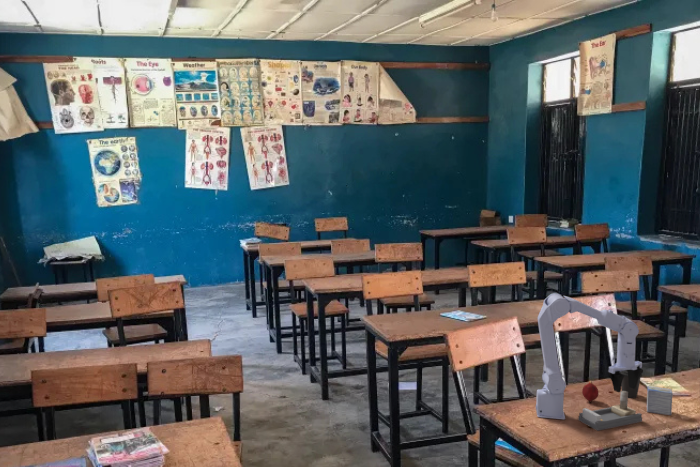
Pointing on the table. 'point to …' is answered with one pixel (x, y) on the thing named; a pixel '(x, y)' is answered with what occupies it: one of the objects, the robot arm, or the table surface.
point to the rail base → (607, 418)
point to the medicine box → (659, 400)
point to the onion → (590, 391)
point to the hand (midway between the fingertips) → (624, 389)
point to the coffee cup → (625, 385)
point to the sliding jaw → (623, 406)
